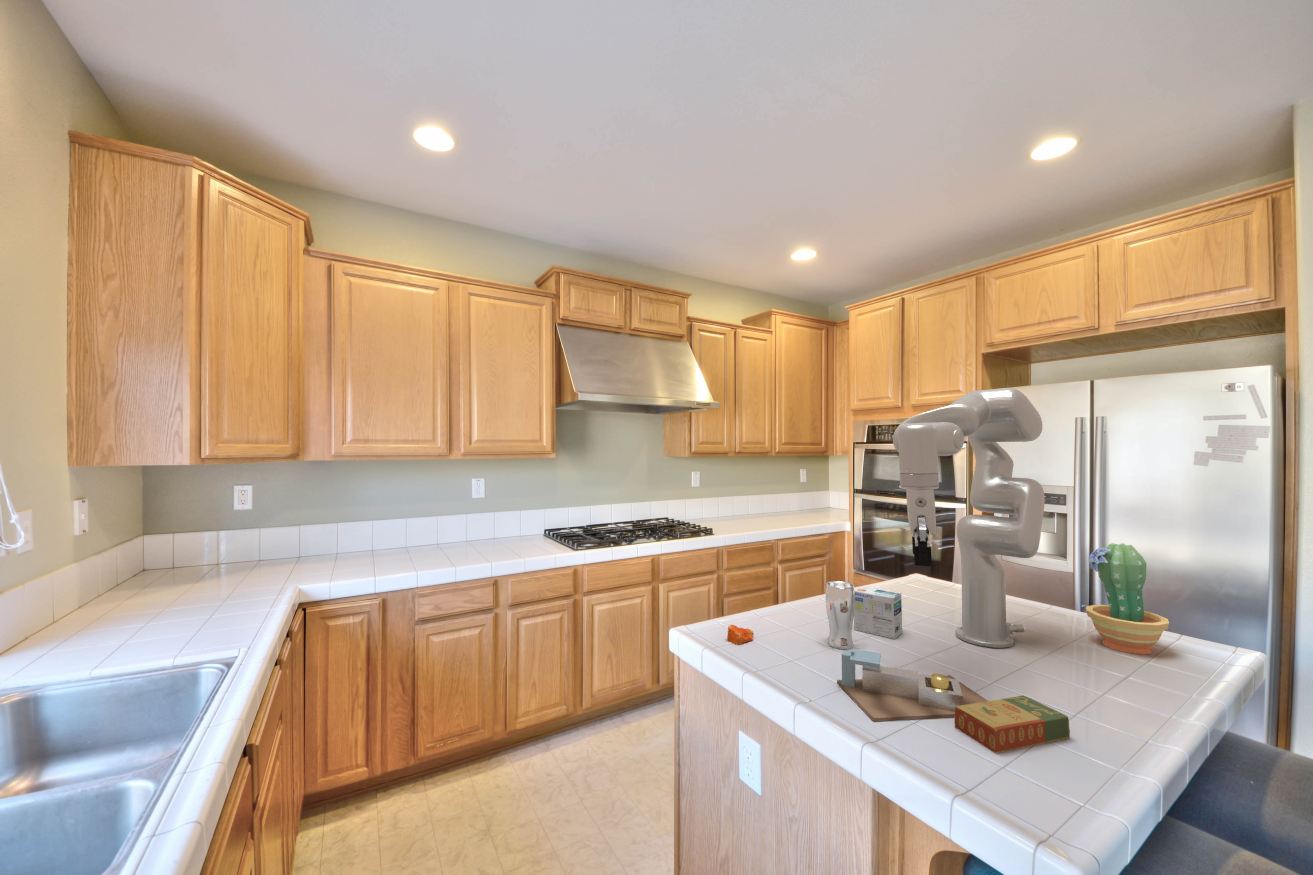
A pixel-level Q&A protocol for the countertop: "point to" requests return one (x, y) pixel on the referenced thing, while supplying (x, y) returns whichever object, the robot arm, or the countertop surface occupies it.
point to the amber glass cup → (939, 681)
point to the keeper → (857, 663)
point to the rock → (739, 635)
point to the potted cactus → (1124, 601)
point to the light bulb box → (878, 612)
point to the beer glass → (840, 613)
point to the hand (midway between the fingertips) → (921, 559)
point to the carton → (1011, 723)
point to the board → (901, 704)
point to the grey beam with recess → (911, 687)
